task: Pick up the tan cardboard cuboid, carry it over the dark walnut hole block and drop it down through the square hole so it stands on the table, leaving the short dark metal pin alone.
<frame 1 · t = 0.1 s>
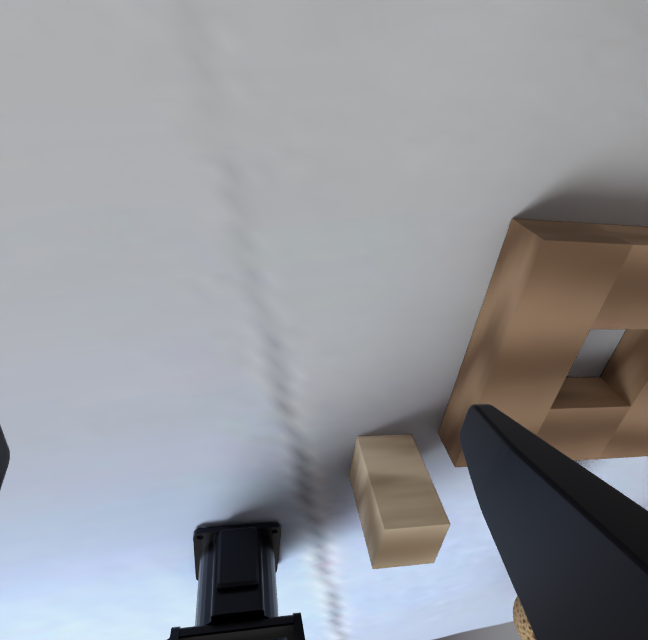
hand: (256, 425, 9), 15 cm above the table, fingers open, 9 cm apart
tan cardboard cuboid: (379, 454, 32), on the table
hole block: (580, 342, 29), on the table
natural sponge: (534, 565, 46), on the table
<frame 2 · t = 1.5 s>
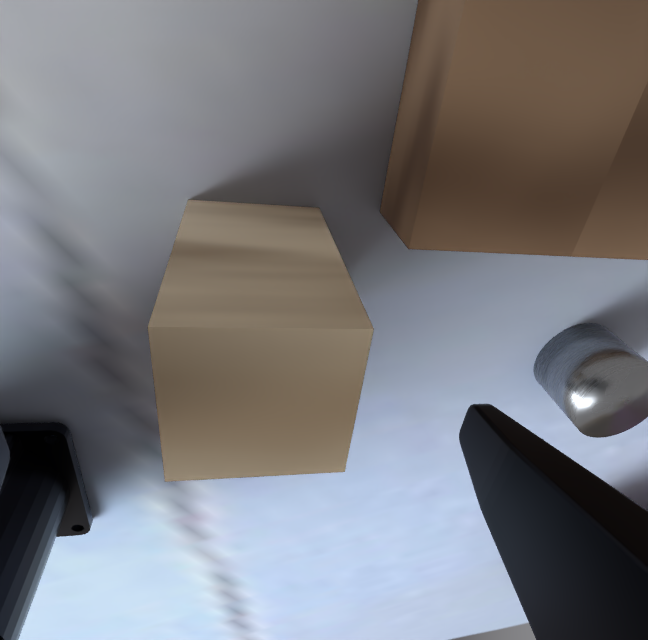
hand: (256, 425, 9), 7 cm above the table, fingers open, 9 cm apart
tan cardboard cuboid: (253, 262, 15), on the table
short metal pin: (572, 357, 20), on the table
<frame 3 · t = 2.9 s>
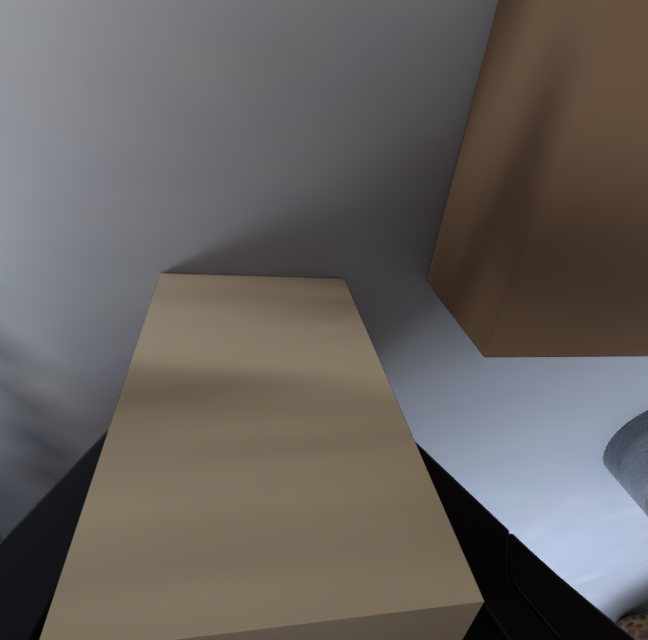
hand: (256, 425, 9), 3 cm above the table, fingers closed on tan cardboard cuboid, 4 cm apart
tan cardboard cuboid: (253, 349, 11), on the table, touching gripper
natural sponge: (615, 615, 24), on the table
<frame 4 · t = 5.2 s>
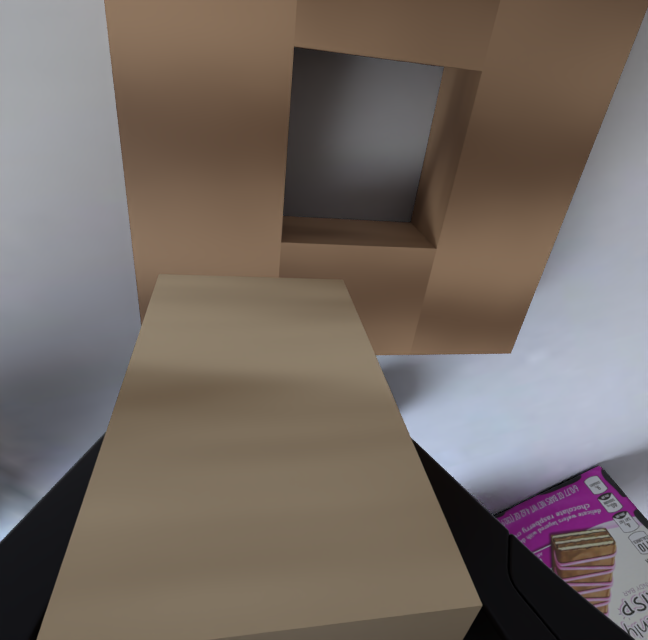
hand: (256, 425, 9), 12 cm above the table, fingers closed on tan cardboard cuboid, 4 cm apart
tan cardboard cuboid: (252, 350, 11), point 9 cm above the table, touching gripper
hole block: (354, 145, 17), on the table
candy bar box: (533, 508, 34), on the table
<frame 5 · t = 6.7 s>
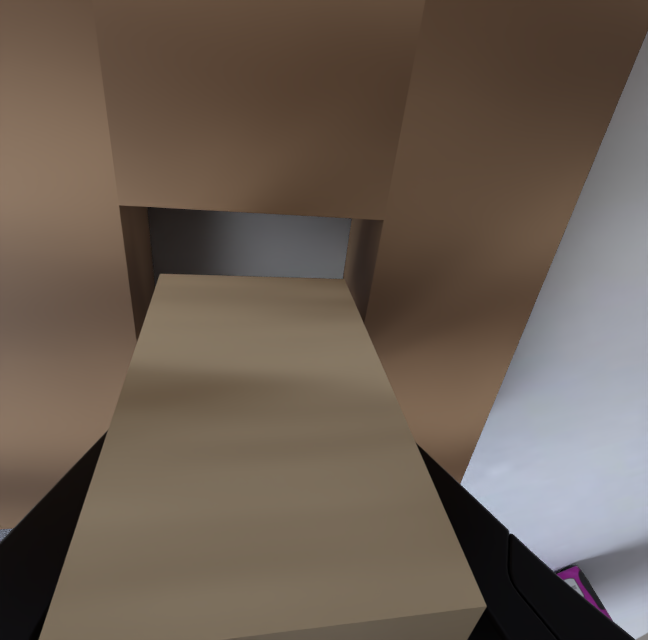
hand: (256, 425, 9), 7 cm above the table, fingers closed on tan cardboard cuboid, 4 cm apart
tan cardboard cuboid: (253, 350, 11), point 4 cm above the table, touching gripper
hole block: (252, 272, 14), on the table
candy bar box: (504, 603, 31), on the table
when the fingers open (5 cm above the table, at t = 7.8 s): tan cardboard cuboid drops 3 cm, resting in hole block.
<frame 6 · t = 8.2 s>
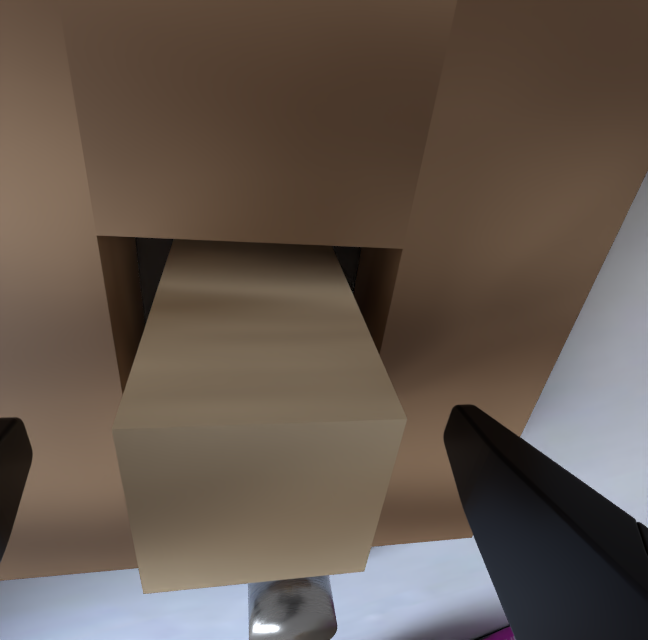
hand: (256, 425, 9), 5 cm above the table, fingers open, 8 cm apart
tan cardboard cuboid: (252, 299, 13), resting in hole block
hole block: (251, 299, 13), on the table
short metal pin: (287, 562, 21), on the table
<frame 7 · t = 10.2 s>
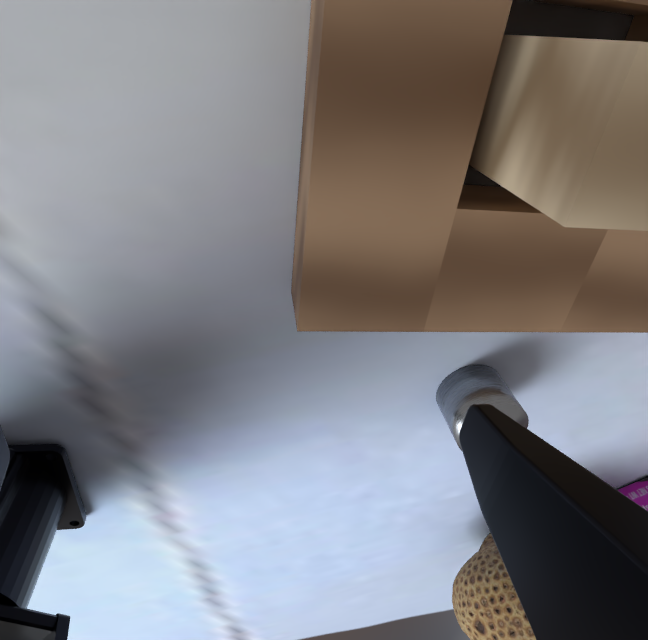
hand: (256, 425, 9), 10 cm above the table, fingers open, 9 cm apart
tan cardboard cuboid: (523, 104, 16), resting in hole block
hole block: (523, 104, 16), on the table
candy bar box: (627, 495, 33), on the table
natural sponge: (490, 528, 33), on the table
short metal pin: (467, 389, 24), on the table
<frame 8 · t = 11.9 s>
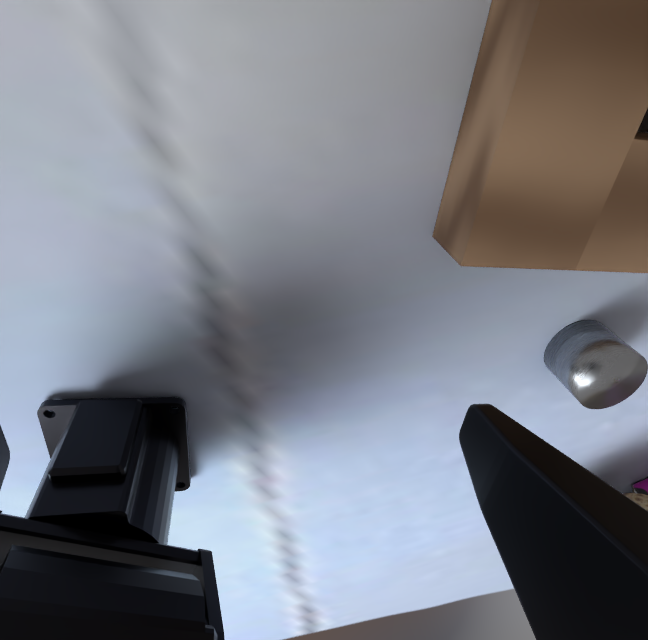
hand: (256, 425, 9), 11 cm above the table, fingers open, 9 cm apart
short metal pin: (574, 347, 25), on the table
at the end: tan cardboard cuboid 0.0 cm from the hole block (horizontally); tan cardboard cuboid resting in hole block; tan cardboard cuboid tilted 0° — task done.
